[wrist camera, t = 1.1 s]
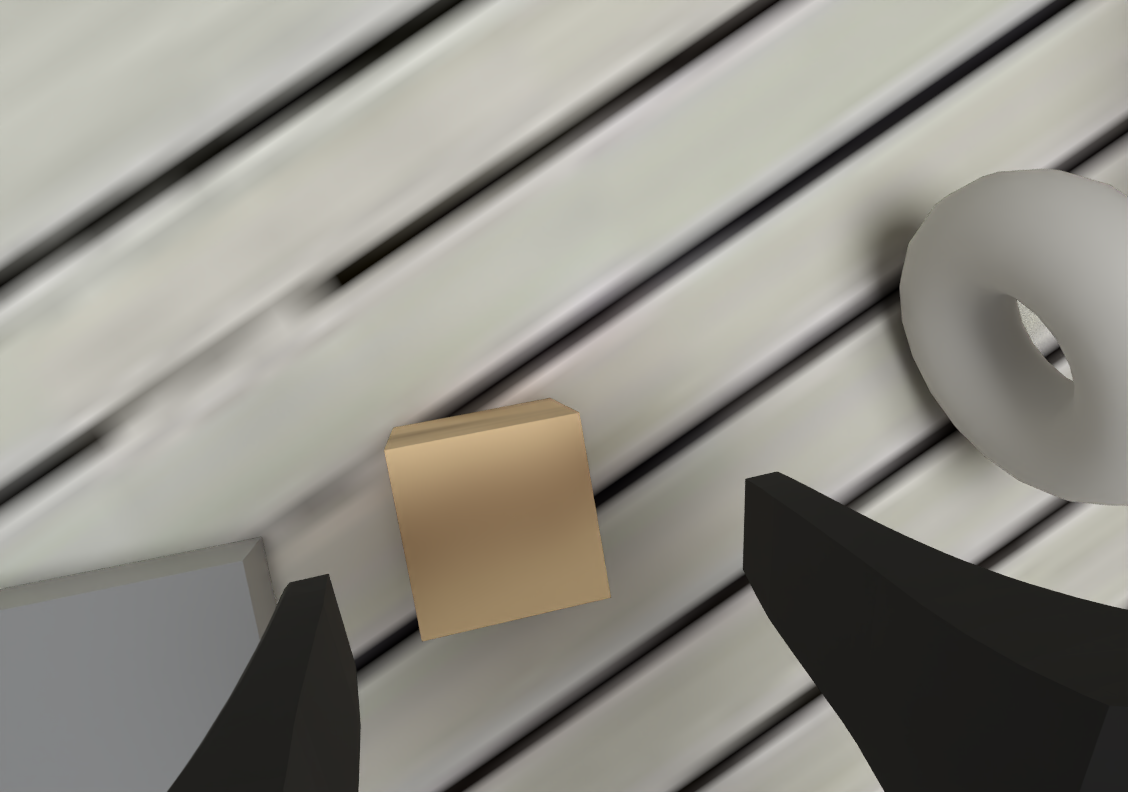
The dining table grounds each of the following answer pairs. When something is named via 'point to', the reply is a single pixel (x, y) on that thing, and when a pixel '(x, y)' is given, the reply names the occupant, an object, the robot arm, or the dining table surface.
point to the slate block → (125, 667)
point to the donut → (999, 339)
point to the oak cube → (496, 516)
